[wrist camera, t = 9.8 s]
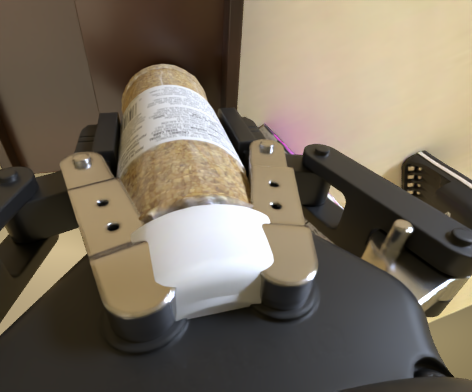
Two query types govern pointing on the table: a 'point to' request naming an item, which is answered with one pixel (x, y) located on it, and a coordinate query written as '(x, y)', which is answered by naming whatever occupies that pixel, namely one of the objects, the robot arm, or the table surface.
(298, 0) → the table surface
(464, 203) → the black battery charger
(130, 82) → the sprinkles bottle
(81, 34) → the shelf
